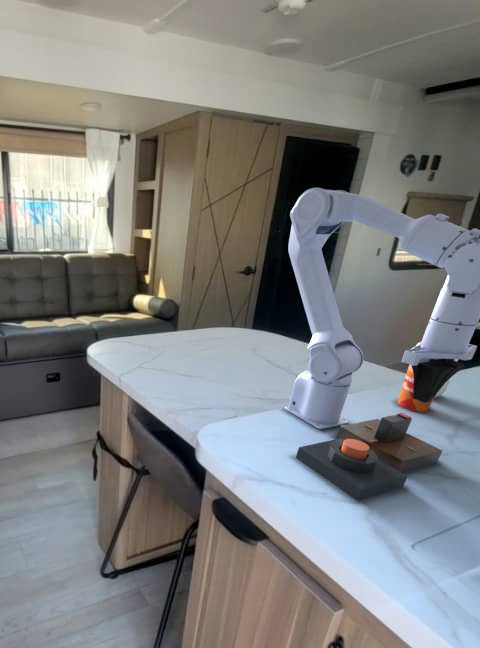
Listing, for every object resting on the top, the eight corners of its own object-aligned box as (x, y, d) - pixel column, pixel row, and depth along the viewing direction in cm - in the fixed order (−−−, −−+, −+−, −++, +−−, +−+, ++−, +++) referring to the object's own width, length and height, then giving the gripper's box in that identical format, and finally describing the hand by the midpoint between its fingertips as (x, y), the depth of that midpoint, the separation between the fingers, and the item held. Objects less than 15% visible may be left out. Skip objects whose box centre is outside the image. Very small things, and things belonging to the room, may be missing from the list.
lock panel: (336, 437, 77) (340, 425, 76) (373, 429, 80) (377, 417, 79) (397, 473, 67) (403, 460, 66) (437, 462, 70) (443, 449, 69)
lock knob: (384, 442, 71) (393, 421, 69) (374, 436, 73) (382, 416, 71) (404, 438, 73) (412, 417, 71) (393, 432, 74) (401, 412, 73)
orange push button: (335, 449, 66) (338, 440, 66) (351, 446, 68) (354, 437, 67) (355, 461, 63) (358, 452, 63) (371, 457, 65) (375, 448, 64)
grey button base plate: (295, 457, 70) (301, 438, 69) (337, 448, 74) (344, 429, 72) (357, 501, 60) (365, 479, 59) (402, 487, 64) (412, 466, 62)
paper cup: (385, 397, 95) (407, 339, 89) (420, 400, 94) (445, 342, 88) (403, 412, 88) (428, 351, 82) (441, 415, 87) (470, 354, 81)
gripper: (450, 331, 57) (416, 416, 63) (512, 324, 62) (475, 403, 68) (401, 319, 63) (374, 398, 69) (461, 313, 68) (430, 387, 74)
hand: (421, 399), depth 69 cm, fingers closed
